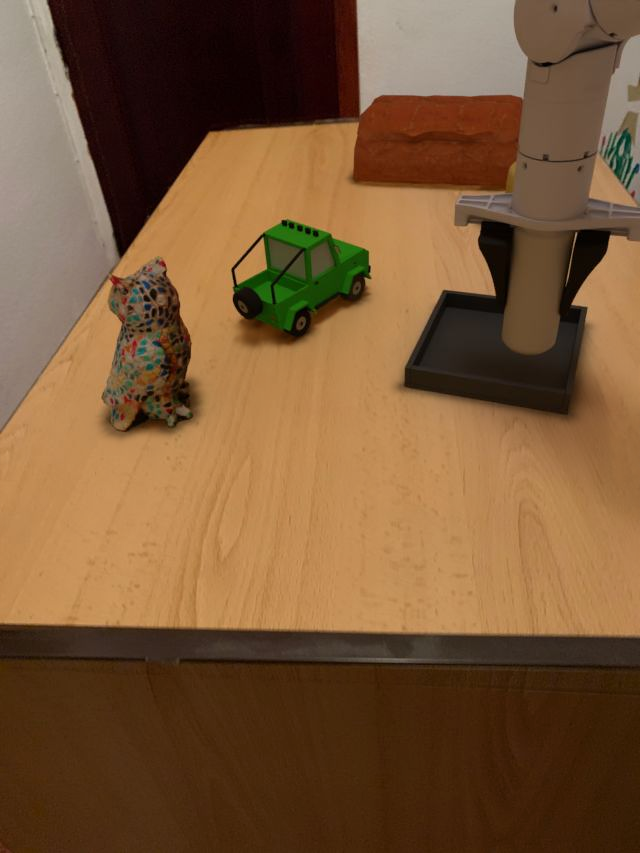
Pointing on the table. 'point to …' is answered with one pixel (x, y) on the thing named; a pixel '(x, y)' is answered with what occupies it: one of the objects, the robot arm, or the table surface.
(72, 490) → the table surface
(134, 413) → the figurine
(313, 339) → the table surface
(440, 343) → the tray
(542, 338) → the beverage can
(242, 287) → the toy car
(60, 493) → the table surface
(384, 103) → the bread
